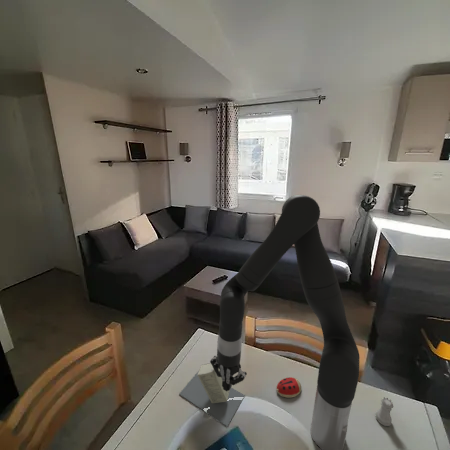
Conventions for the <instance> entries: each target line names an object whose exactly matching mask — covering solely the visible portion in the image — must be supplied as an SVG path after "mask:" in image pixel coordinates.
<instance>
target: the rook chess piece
mask: <svg viewBox="0 0 450 450" xmlns="http://www.w3.org/2000/svg"><path fill="white" fill-rule="evenodd" d="M380 401H381V403H380V405H381V407H380V408H379V409H377V410H376V411H375V418H376V420H377V421H378V423H380V424H381V425H382V426H385V427H389V426H391V425H392V422H393V421H392V416H391V412H392V409H393V408H394V404H393V402H392V400H391V399H389V397H387V396H386V397H383V398H381V400H380Z"/></svg>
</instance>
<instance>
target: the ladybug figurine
mask: <svg viewBox="0 0 450 450" xmlns="http://www.w3.org/2000/svg"><path fill="white" fill-rule="evenodd" d="M301 391H302V384H301V382H300V380H299V379H297V378H295V377H284V378H283V379H281V380H279V382H278V383H277V385H276V392H277V394H278V395H279V396H281V397H284V398H286V399H288V398H295V397H297V396H299V395H300V393H301Z"/></svg>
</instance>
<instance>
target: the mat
mask: <svg viewBox="0 0 450 450" xmlns="http://www.w3.org/2000/svg"><path fill="white" fill-rule="evenodd" d="M198 372H199V370H198V371H196V373H195V374H194V376H192V378H191V379H190V381H189V382H188V383H187V384H186V385H185V387H183V389H182V390H181V391H180V392H179V394H178V395H179V396H181V397H182V398H184V399H185V400H187V401H188V402H189V403H190V404H193V405H194V406H195V407H197V408H199V409H200V410H201V409H204V408H208V407H210V409H208V410H207V413H208V414H207V413H206V414H207V415H209V416H210V417H212V418H213V419H215V420H216V421H218V422H219V423H220V424H222V425H224V426H225V427H227V428H228V426H230V423H231V421H232V419H233V418H234V417H235V414H236V413H237V410H238V408H239V407H240V405H241V404H242V402H241V401H243V400H233V399H232V400H229V401H225V402H218V403H211V401H210V399H209V397H208V395H207V393H206V391H205V389H204V387H203V385H202V383H201V381H200V379H199V377H198V375H197V374H198ZM234 397H244V398H245V397H246V396H245V394H244V393H241V391H239V390H237V389H234V388H233V387H231V388H230V391H229V395H228V399H229V398H234Z"/></svg>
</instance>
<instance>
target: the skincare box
mask: <svg viewBox="0 0 450 450" xmlns="http://www.w3.org/2000/svg"><path fill="white" fill-rule="evenodd" d="M218 370H219V371H220V369H219V368H218ZM198 371H199V372H198ZM198 371H197V372H198V374H197V375H198V377H199V379H200V381H201V383H202V385H203V387H204V389H205V391H206V393H207V395H208V397H209V399H210V401H211V403H218V402H225V401H227V400H228V395H229V391H230V390H229V391H225V390H223V387H222V378H221V377H218V376H217V374H216V372H215V370H214V368H213V366H212V364H211V363H210V362H209V363H204V364H201V365H200V367H199V369H198Z"/></svg>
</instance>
